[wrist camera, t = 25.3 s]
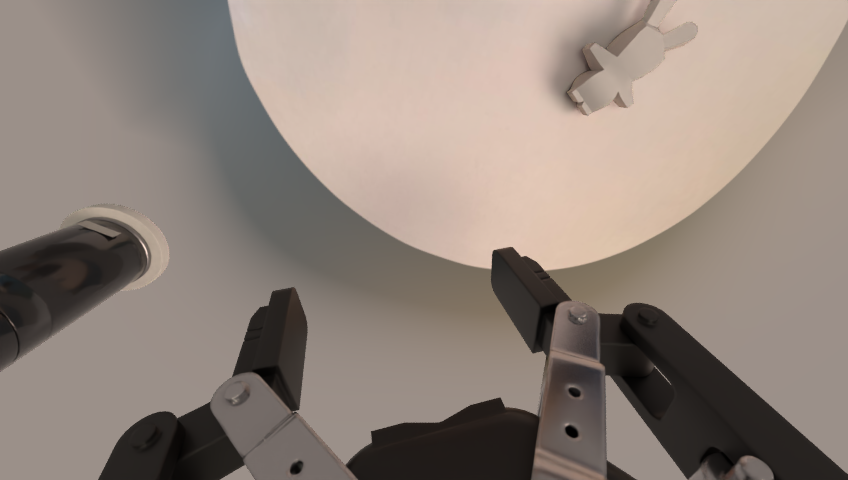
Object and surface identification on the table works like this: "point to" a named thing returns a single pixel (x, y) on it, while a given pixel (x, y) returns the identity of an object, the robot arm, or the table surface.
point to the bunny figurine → (627, 59)
